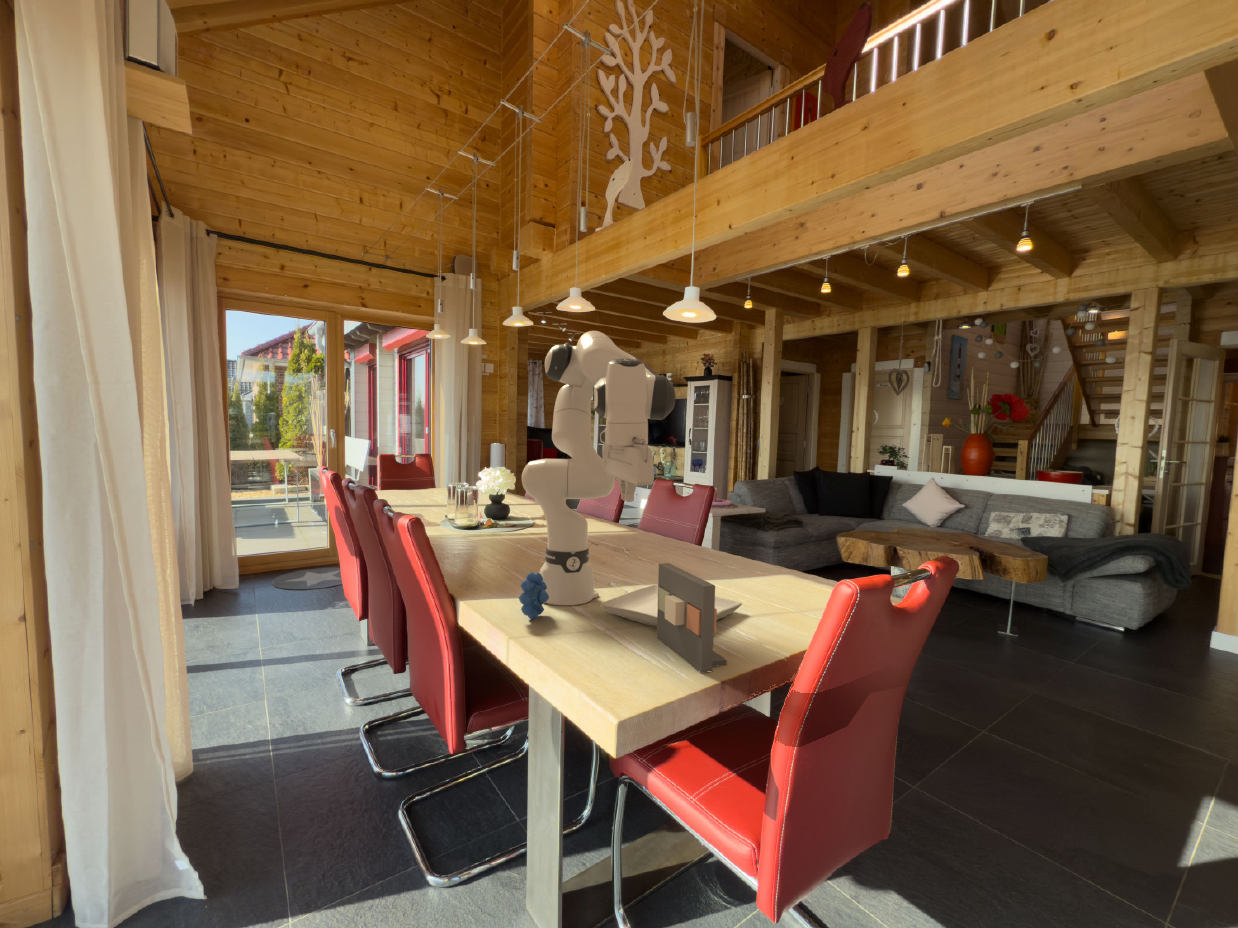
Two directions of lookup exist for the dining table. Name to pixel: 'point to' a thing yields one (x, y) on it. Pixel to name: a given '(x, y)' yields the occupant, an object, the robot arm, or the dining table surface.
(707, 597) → the keyguard
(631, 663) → the dining table surface
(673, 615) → the key ivory
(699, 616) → the key terracotta
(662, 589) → the key sage
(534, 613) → the grapes
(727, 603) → the square plate
